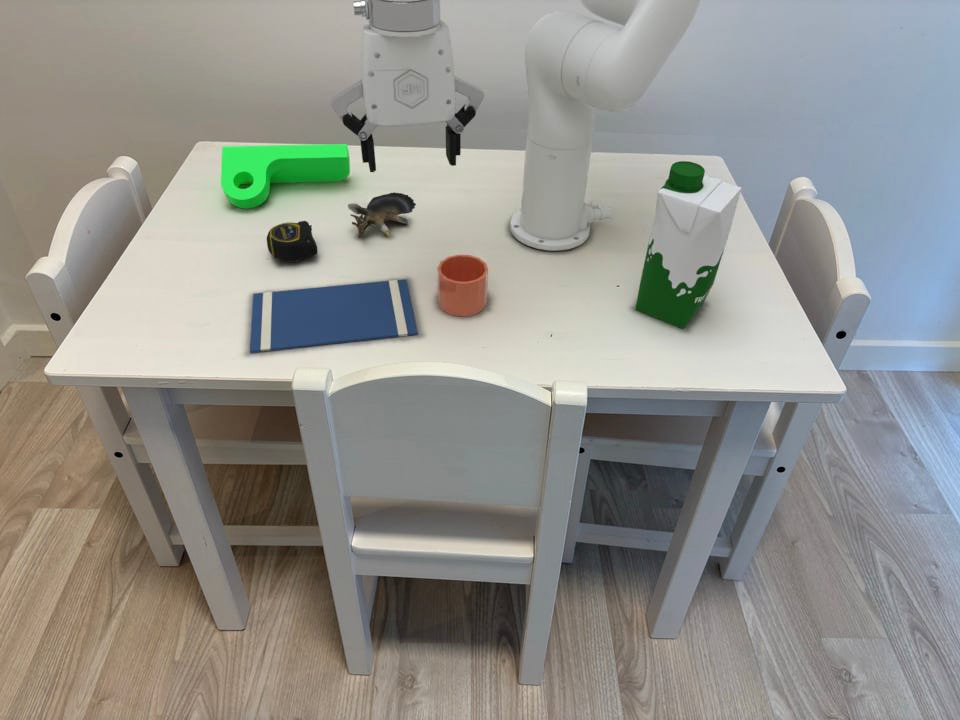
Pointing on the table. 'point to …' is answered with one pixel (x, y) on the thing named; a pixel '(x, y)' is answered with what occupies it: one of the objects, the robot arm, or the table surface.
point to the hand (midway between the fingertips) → (411, 163)
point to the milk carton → (685, 243)
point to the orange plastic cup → (462, 285)
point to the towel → (331, 315)
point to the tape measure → (291, 241)
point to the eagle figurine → (382, 211)
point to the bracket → (278, 168)
